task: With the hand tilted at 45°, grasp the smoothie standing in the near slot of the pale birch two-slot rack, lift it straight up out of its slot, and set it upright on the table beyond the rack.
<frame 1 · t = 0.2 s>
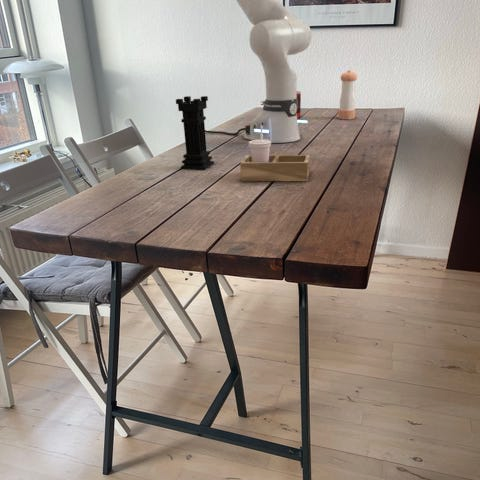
salt shaker: (346, 118, 224), on the table
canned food: (291, 118, 231), on the table
chess piece: (197, 166, 158), on the table
smoothie: (260, 177, 144), resting in rack
rack: (275, 176, 143), on the table
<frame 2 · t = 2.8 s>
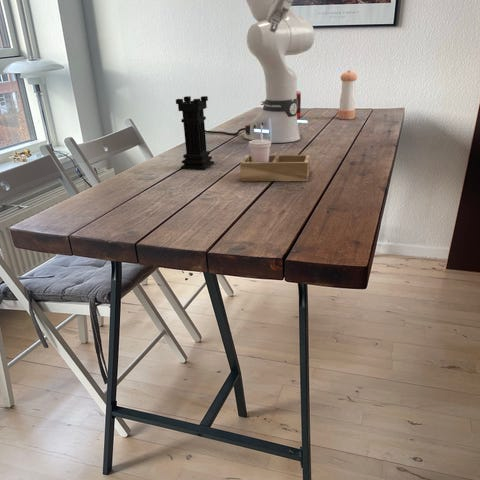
hand: (278, 20, 131), 38 cm above the table, tool tilted 40°, fingers open, 8 cm apart
nothing on the table moved.
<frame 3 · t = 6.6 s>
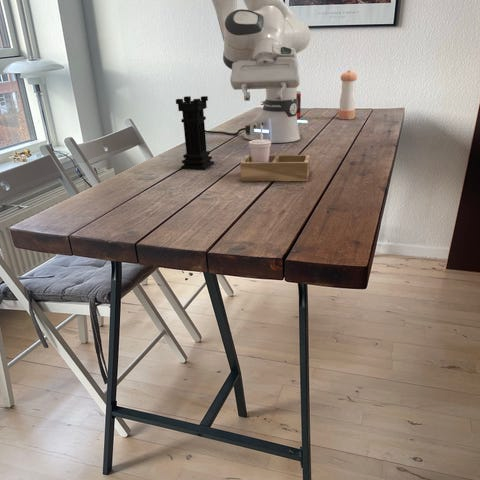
hand: (262, 99, 144), 19 cm above the table, tool tilted 45°, fingers open, 8 cm apart
nothing on the table moved.
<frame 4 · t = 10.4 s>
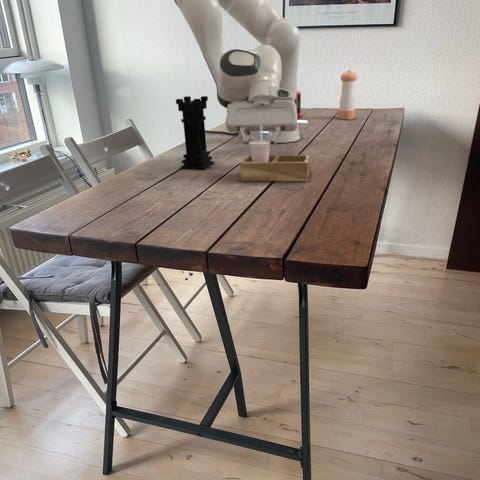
hand: (259, 143, 139), 9 cm above the table, tool tilted 45°, fingers closed on smoothie, 6 cm apart
smoothie: (260, 177, 144), resting in rack, touching gripper
everything else where it was.
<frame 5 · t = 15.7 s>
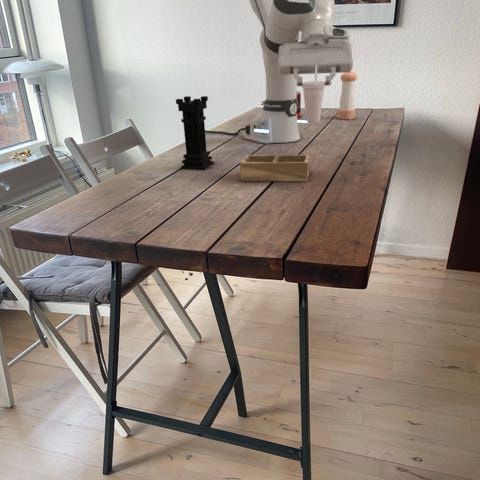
hand: (313, 84, 134), 23 cm above the table, tool tilted 45°, fingers closed on smoothie, 6 cm apart
smoothie: (312, 121, 140), point 14 cm above the table, touching gripper
everything else where it was.
when the fingers open (9 cm above the table, at t = 21.0 s): smoothie stays where it is, on the table.
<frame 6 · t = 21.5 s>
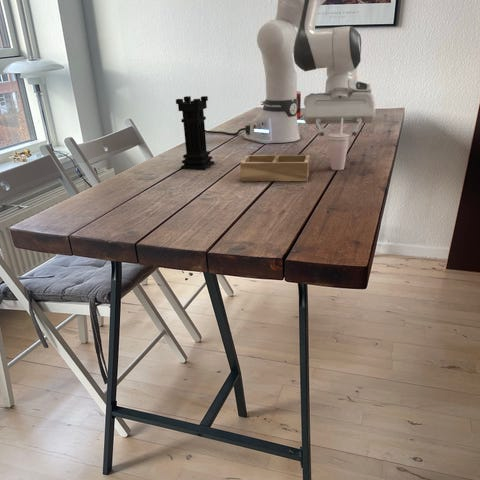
hand: (337, 134, 142), 10 cm above the table, tool tilted 45°, fingers open, 8 cm apart
smoothie: (337, 169, 148), on the table
everything else where it was.
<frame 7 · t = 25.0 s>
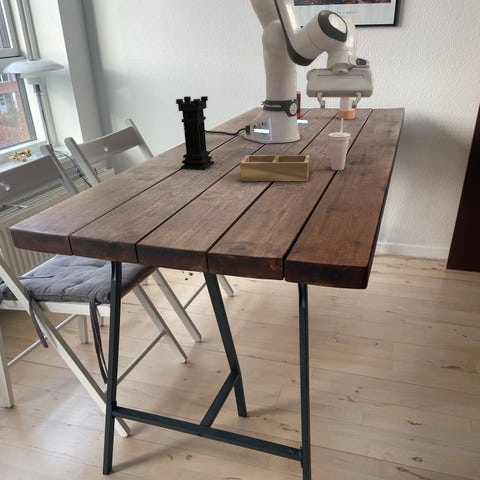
hand: (338, 107, 151), 15 cm above the table, tool tilted 45°, fingers open, 8 cm apart
nothing on the table moved.
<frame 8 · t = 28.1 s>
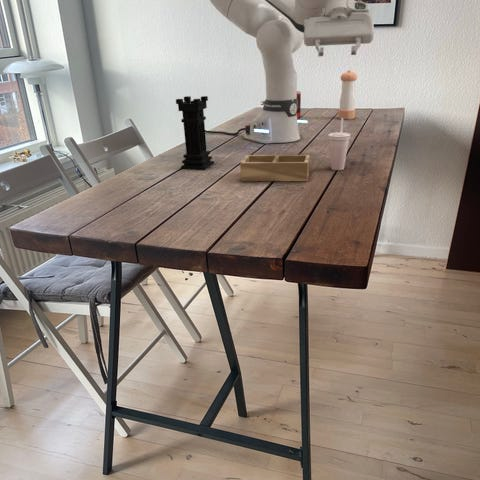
hand: (337, 54, 145), 29 cm above the table, tool tilted 45°, fingers open, 8 cm apart
nothing on the table moved.
at the end: smoothie inside the target area (0.2 cm from its centre), on the table; smoothie tilted 0°; the gripper is holding nothing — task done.
